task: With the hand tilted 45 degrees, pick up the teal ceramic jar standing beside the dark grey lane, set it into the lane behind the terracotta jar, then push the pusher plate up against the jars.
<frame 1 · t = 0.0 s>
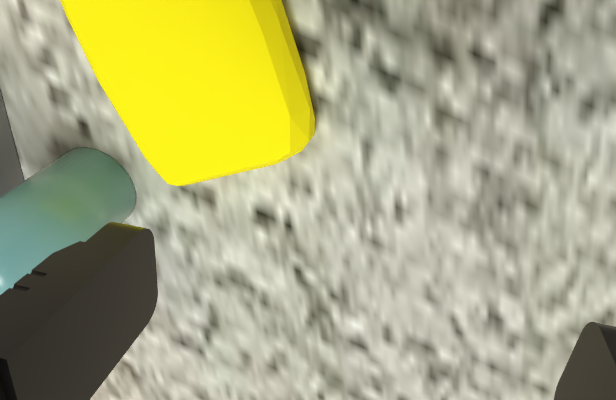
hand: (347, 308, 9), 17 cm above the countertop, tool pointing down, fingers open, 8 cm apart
teal jar: (97, 186, 32), on the countertop
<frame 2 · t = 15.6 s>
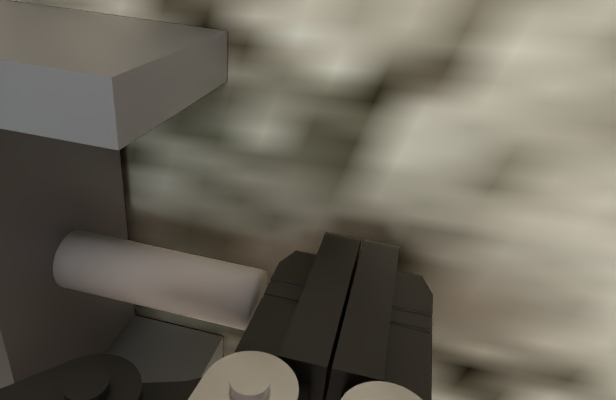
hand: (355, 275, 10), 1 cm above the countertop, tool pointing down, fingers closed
pusher: (139, 273, 10), point 2 cm above the countertop, slide at 0.9 cm, touching gripper
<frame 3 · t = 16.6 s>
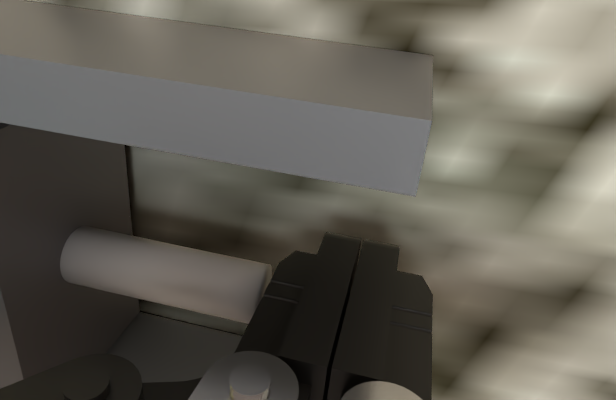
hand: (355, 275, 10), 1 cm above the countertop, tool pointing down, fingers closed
pusher: (145, 268, 10), point 2 cm above the countertop, slide at 4.9 cm, touching gripper, teal jar
lane: (8, 179, 13), on the countertop
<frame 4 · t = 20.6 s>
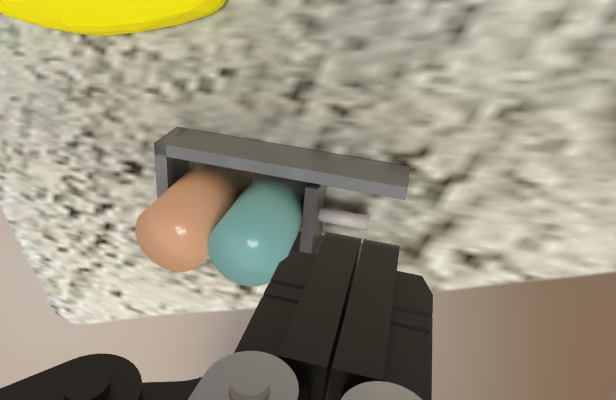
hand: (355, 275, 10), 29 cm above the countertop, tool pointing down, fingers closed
terracotta jar: (222, 182, 44), resting in lane
pusher: (337, 217, 41), point 2 cm above the countertop, slide at 5.0 cm
lane: (285, 194, 43), on the countertop
teal jar: (283, 192, 43), resting in lane
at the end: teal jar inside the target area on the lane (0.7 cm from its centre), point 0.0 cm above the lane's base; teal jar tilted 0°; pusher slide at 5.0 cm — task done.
